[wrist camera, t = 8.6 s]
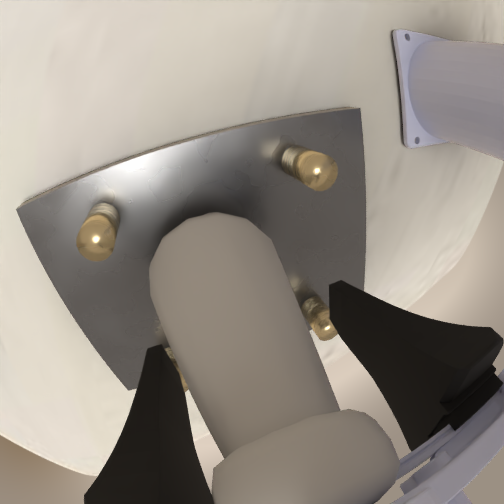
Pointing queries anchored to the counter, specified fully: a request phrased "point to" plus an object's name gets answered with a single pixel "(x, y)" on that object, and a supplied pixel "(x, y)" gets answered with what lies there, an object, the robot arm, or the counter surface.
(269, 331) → the salt shaker
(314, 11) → the counter surface
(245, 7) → the counter surface
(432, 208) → the counter surface
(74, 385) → the counter surface
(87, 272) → the plate
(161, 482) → the robot arm
